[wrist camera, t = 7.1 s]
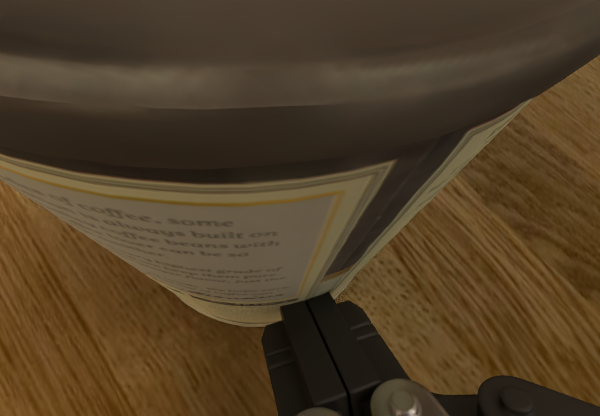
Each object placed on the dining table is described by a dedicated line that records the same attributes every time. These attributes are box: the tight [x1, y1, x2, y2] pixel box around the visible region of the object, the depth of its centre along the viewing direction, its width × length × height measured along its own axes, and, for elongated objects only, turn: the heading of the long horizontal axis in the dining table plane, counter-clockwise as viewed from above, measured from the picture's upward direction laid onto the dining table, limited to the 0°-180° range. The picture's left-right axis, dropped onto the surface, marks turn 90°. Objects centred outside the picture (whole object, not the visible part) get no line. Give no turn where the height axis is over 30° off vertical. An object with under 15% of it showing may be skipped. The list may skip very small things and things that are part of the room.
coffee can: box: [0, 0, 600, 327], centre depth 10 cm, size 10×10×14 cm
